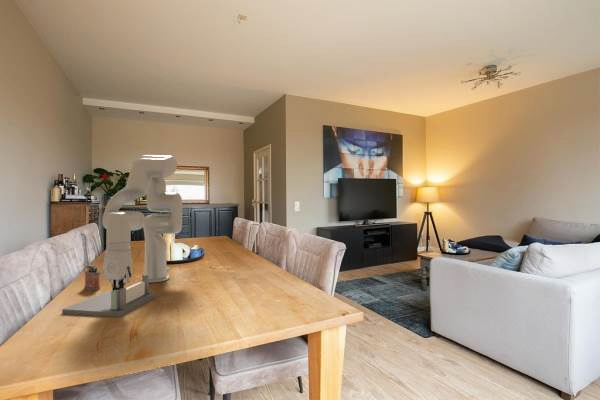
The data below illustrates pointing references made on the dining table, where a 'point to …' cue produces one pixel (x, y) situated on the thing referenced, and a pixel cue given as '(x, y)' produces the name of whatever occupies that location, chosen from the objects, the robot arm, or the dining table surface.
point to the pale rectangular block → (128, 294)
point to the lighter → (92, 278)
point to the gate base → (109, 303)
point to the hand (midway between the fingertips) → (118, 297)
